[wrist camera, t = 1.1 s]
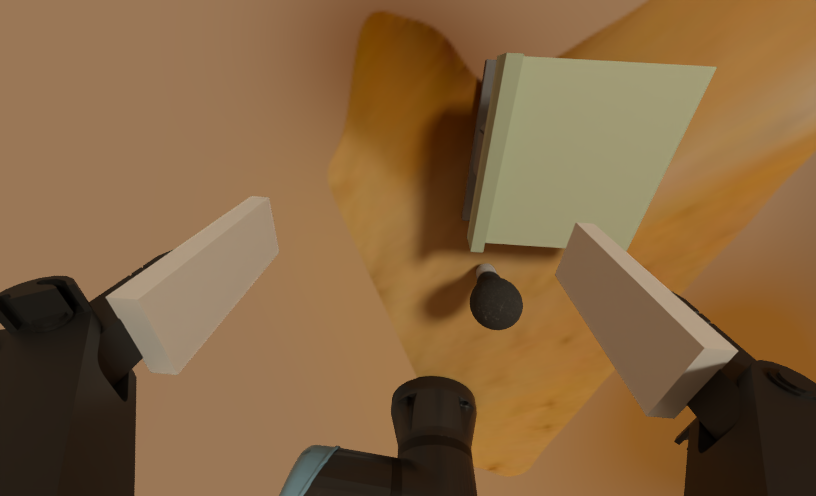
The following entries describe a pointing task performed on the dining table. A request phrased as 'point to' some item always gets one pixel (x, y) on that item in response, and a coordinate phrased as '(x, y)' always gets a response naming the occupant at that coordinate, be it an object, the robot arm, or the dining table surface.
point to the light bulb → (495, 300)
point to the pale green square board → (577, 146)
